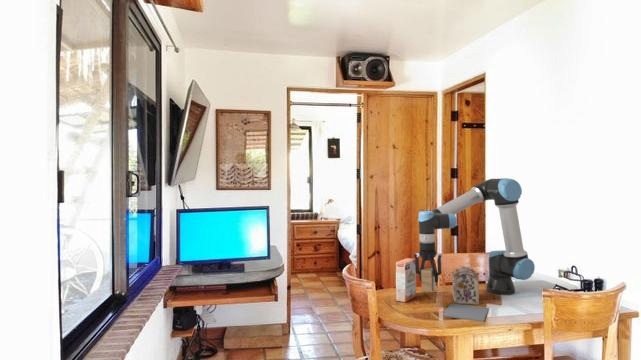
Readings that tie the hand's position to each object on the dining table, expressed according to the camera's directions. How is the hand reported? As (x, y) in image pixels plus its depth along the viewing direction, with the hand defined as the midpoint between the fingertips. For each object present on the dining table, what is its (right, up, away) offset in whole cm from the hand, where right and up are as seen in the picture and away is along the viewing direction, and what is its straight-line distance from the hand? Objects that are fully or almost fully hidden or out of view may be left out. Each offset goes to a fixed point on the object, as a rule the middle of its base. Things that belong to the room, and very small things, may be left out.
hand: (429, 288), depth 202 cm
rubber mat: (+16, -9, -9) cm, 20 cm away
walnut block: (0, 0, 0) cm, 0 cm away
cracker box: (-8, -10, +15) cm, 20 cm away
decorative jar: (+22, -10, +10) cm, 26 cm away
